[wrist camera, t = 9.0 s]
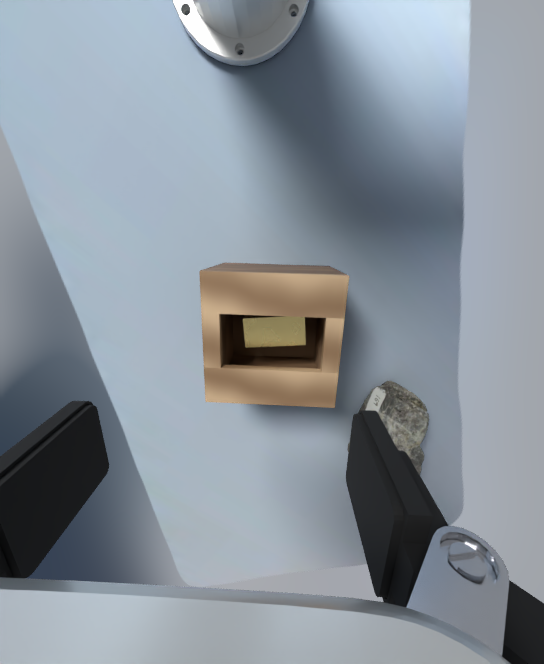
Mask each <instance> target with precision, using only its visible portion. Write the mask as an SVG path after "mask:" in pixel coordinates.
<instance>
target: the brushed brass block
mask: <svg viewBox="0 0 544 664" xmlns="http://www.w3.org/2000/svg"><path fill="white" fill-rule="evenodd" d="M243 327H244V337H245V348H249V347H272V346H295V345H306V338H305V317H289V316H263V315H244V317H243Z"/></svg>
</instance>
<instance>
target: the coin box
mask: <svg viewBox="0 0 544 664" xmlns="http://www.w3.org/2000/svg"><path fill="white" fill-rule="evenodd" d="M348 283H349V276H348V275H346V274H344V273H342V272H340V271H338V270H336V269H334V268H332V267H330V266H308V265H278V264H248V263H222V264H219V265H216V266H213V267H210V268H207V269H204V270H201V271H200V291H201V313H202V335H203V356H204V378H205V399H206V402H222V403H243V404H264V405H285V406H306V407H327V408H335V401H336V392H337V383H338V374H339V365H340V356H341V346H342V337H343V328H344V319H345V310H346V301H347V292H348ZM244 315H263V316H289V317H305V338H306V345H295V346H272V347H249V348H245V337H244V327H243V317H244Z"/></svg>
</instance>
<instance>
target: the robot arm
mask: <svg viewBox="0 0 544 664" xmlns="http://www.w3.org/2000/svg"><path fill="white" fill-rule="evenodd" d="M308 3H309V0H173V4H174V6H175V9H176V11H177V13H178V16H179V18H180V20H181V22H182V24H183V25H184V27H185V29H186V31H187V33H188V34H189V35H190V37H191V38H192V39H193V41H194V42H195V43H196V44H197V46H199V47H200V48H201V49H202V50H203V51H204V52H205V53H207V54H208V55H209V56H211V57H213V58H215V59H216V60H218V61H220V62H223V63H227V64H230V65H237V66H247V65H253V64H258V63H260V62H263V61H265V60H267V59H269V58H271V57H272V56H274V55H275V54H277V53H278V52H280V51H281V50H282V49H283V48H284V47H285V46H286V44H287V43H288V42H289V41H290V40H291V39H292V37H293V36H294V34H295V33H296V31H297V30H298V28H299V26H300V24H301V22H302V20H303V18H304V15H305V13H306V10H307V6H308ZM187 15H188V16H187ZM292 15H295V17H292ZM239 53H243V54H242V55H239ZM108 468H109V462H108V457H107V453H106V448H105V443H104V439H103V434H102V430H101V425H100V420H99V416H98V411H97V408H96V406H93V404H92V403H91V402H89V401H72V402H70V403H69V404H67V405H66V406H65V407H63V408H62V409H61V410H59V411H58V412H57V413H56V414H54V415H53V416H52V417H51V418H49V419H48V420H47V421H46V422H44V423H43V424H41V425H40V426H39V427H38V428H36V429H35V430H34V431H32V432H31V433H30V434H29V435H27V436H26V437H25V438H23V439H22V440H21V441H20V442H19V443H17V444H16V445H14V446H13V447H12V448H10V449H9V450H8V451H7V452H5V453H4V454H3V455H2V456H0V664H544V603H542V602H541V601H539V600H538V599H536V598H535V597H533V596H532V595H530V594H529V593H527V592H526V591H524V590H523V589H521V588H520V587H519V586H517V585H516V584H514V583H513V582H511V581H510V580H509V576H508V570H507V568H506V566H505V564H504V562H503V560H502V559H501V557H500V556H499V555H498V553H497V552H496V551H495V550H494V549H493V548H492V547H491V546H490V545H489V544H488V543H487V542H486V541H484V540H483V539H482V538H480V537H478V536H477V535H476V534H474V533H472V532H470V531H468V530H465V529H463V528H460V527H455V526H448V524H447V522H446V521H445V519H444V517H443V515H442V514H441V512H440V510H439V508H438V507H437V505H436V503H435V501H434V500H433V498H432V496H431V494H430V493H429V491H428V489H427V487H426V486H425V484H424V482H423V480H422V479H421V477H420V475H419V473H418V472H417V470H416V468H415V467H414V465H413V463H412V461H411V460H410V458H409V456H408V455H407V453H406V452H405V451H400V450H398V449H397V447H396V446H395V444H394V442H393V440H392V438H391V436H390V434H389V433H388V431H387V429H386V427H385V425H384V423H383V421H382V420H381V418H380V416H379V414H378V412H377V411H373V410H360V411H359V413H358V414H354V415H353V421H352V429H351V438H350V446H349V454H348V462H347V470H346V482H347V487H348V491H349V494H350V498H351V502H352V506H353V510H354V514H355V518H356V522H357V526H358V529H359V533H360V537H361V541H362V545H363V549H364V553H365V557H366V561H367V564H368V568H369V572H370V576H371V580H372V584H373V587H374V591H375V594H376V596H377V597H382V598H383V601H384V602H377V601H370V600H362V599H355V598H346V597H334V596H322V595H309V594H296V593H283V592H265V591H249V590H232V589H216V588H199V587H180V586H163V585H144V584H125V583H106V582H87V581H65V580H45V579H25V578H27V577H29V576H30V575H31V574H32V573H33V572H34V571H35V570H36V568H37V567H38V566H39V564H40V563H41V561H42V560H43V559H44V557H45V556H46V555H47V553H48V552H49V551H50V549H51V548H52V546H53V545H54V544H55V543H56V541H57V540H58V539H59V537H60V536H61V535H62V533H63V532H64V530H65V529H66V528H67V527H68V525H69V524H70V523H71V521H72V520H73V519H74V517H75V516H76V515H77V513H78V512H79V510H80V509H81V508H82V506H83V505H84V504H85V502H86V501H87V500H88V498H89V497H90V496H91V494H92V493H93V492H94V490H95V489H96V488H97V486H98V485H99V484H100V482H101V481H102V479H103V478H104V477H105V476H106V474H107V472H108Z"/></svg>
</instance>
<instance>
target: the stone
mask: <svg viewBox="0 0 544 664" xmlns="http://www.w3.org/2000/svg"><path fill="white" fill-rule="evenodd" d="M360 410H373V411H377V412H378V414H379V416H380V418H381V420H382V421H383V423H384V425H385V427H386V429H387V431H388V433H389V434H390V436H391V438H392V440H393V442H394V444H395V446H396V447H397V449H398V450H400V451H405V452H406V453H407V455H408V456H409V458H410V460H411V461H412V463H413V465H414V467H415V468H416V470H417V472H418V473H419V475H420V472H421V470H422V469H421V465H422V462H423V460H424V454H423V452H422V449H421V448H420V444H421V442H422V440H423V438H424V437H425V434H426V431H427V428H428V421H429V416H428V413H427V409H426V406H425V404H424V403H423V402H422V401H421V400H420V399H419V398H418V397H417V396H416V395H415V394H413V393H412V392H410V391H408V390H407V389H405V388H403V387H402V386H400V385H398V384H397V383H395V382H392V381H387V382H385V383H384V384H382V386H377V387H376V388H374V389H372V390H371V392H370V394H369V395H368V396H367V398H366V400H365V401H364V403H363V405H362V407H361V409H360ZM360 410H359V411H360ZM358 413H359V412H358ZM349 446H350V442H349V444H348V452H349Z"/></svg>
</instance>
